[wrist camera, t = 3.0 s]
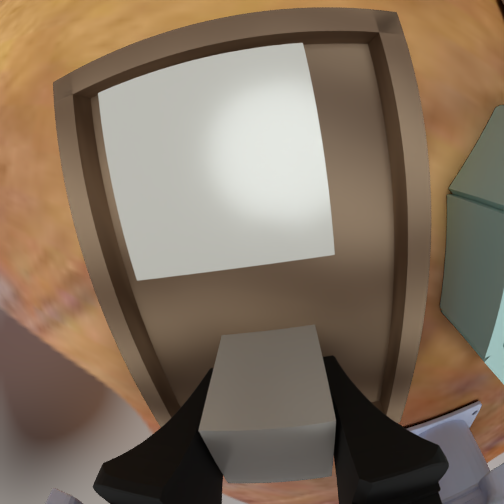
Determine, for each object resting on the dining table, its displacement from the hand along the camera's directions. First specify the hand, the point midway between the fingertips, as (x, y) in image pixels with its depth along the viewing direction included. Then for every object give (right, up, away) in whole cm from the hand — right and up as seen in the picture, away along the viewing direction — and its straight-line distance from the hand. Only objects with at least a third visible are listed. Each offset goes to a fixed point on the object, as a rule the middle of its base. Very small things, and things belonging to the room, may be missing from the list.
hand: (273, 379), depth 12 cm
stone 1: (-1, +9, -2) cm, 9 cm away
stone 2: (0, 0, +1) cm, 1 cm away
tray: (-1, +5, 0) cm, 5 cm away
